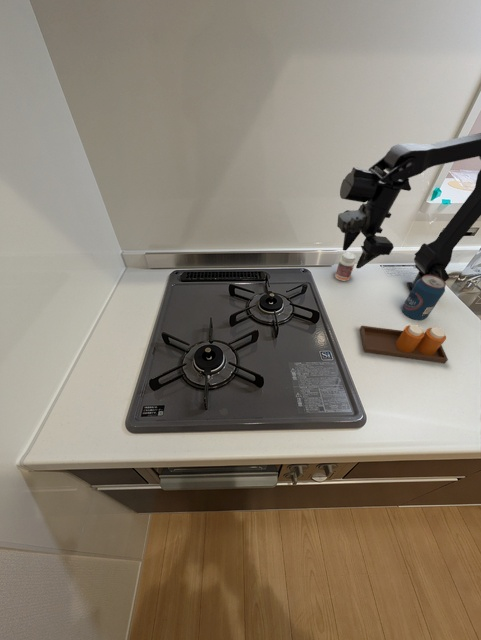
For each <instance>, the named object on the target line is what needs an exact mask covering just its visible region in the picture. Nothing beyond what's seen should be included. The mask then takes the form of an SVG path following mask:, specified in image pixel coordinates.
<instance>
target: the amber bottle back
mask: <svg viewBox="0 0 481 640" xmlns="http://www.w3.org/2000/svg"><path fill="white" fill-rule="evenodd" d="M446 340H447V336H446V332H445V331H444V330H443V328H440V327H436V326H434V327H429V328H427V329H426V330H425V332H424V337H423V338H422V340H421V341H420V342H419V344H418V345H417V347H416V348H417V350H418V351H419V352H421V353H422V354H425V355H433V354H434V353H435V352H436V351H437V350H438V348H439V347H440V346H441V345H442V346H443V343H445V341H446Z"/></svg>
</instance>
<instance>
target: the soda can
mask: <svg viewBox="0 0 481 640" xmlns="http://www.w3.org/2000/svg"><path fill="white" fill-rule="evenodd" d="M446 286H447V283H446V281H444V280H443V279H441V278H439V277H437V276H434V275H424V276H423V277H422V278H420V279H419V280H417V282H416V284H415V285H414V287H413V289H412V291H411V292H410V291H409V294H408V295H407V297H406V299H405V300H404V302H403V304H402V307H401V308H402V312H403V314H404V315H405V316H406V317H407V318H409V319H411V320H414V321H423V320H425V319H427V318H428V317H429V315H431V313H432V311H433V310H434V308H435V307H436V305H437V304H438V302H439V301H440V299H441V298H442V296H443V295H444V293H446Z"/></svg>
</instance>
